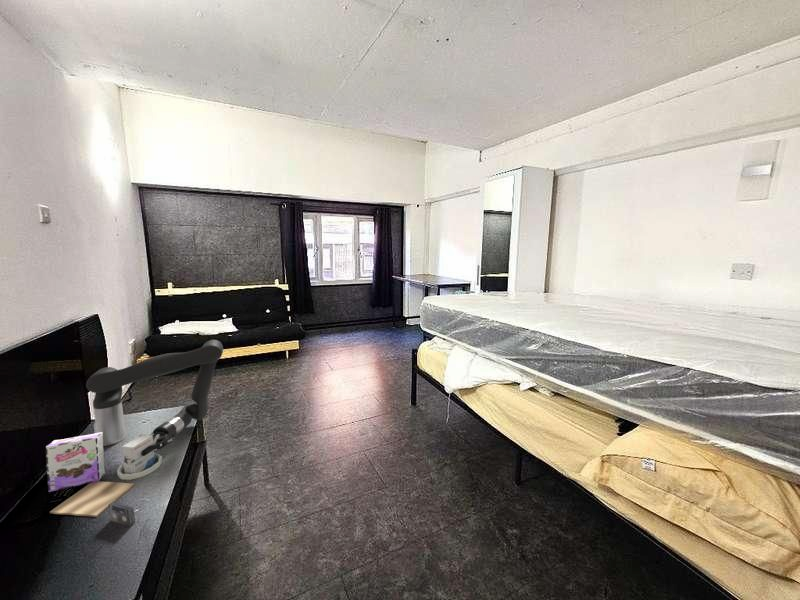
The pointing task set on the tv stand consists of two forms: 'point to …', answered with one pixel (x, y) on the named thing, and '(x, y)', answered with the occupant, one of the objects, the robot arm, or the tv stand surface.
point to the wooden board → (92, 499)
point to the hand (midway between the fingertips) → (135, 453)
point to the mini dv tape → (121, 513)
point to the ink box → (137, 454)
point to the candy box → (75, 461)
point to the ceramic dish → (139, 474)
